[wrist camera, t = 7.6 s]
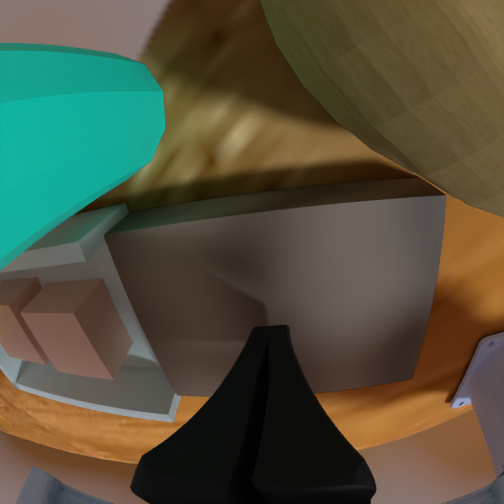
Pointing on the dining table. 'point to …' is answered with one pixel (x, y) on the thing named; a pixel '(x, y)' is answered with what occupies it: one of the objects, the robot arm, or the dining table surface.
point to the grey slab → (287, 279)
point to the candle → (68, 134)
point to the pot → (408, 82)
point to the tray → (102, 266)
